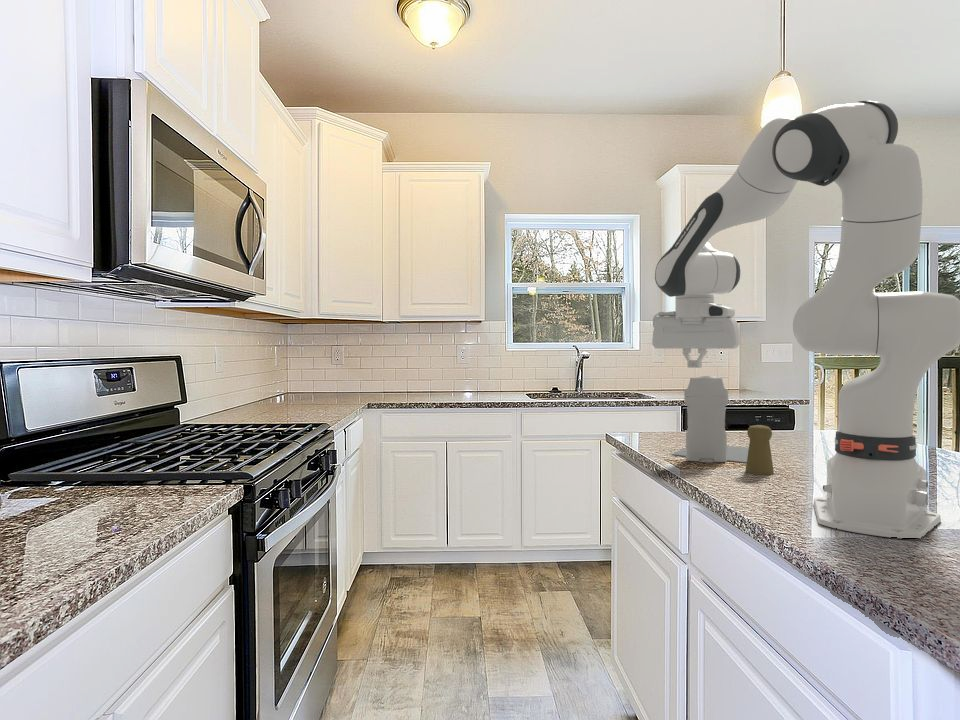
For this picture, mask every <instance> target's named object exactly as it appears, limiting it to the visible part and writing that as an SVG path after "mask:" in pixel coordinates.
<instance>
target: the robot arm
mask: <svg viewBox="0 0 960 720" xmlns="http://www.w3.org/2000/svg"><path fill="white" fill-rule="evenodd" d="M898 132H899V122H898V118H897V115H896V113H895V112H894V110H893V109H892V108H891V107H889V106H888V105H887V104H885V103H883V102H880V101H873V100H861V101H860V100H859V101H856V102H853V103H846V104H845V103H844V104H834V105H830V106H827V107H823V108H820V109H817V110H815V111H813V112H807V113H803V114H801V115H799V116H796V117H795V118H793V117H778V118H775V119H772V120H770V121H769V122H767V123H766V124H765V125H764V126H763V127H762V128H761V130H760V131H759V132H758V134H757V135H756V137H755V138H754V139H753V140H752V142H751V144H750V145H749V147H748V148H747V150H746V152H745V153H744V155H743V157H742V159H741V160H740V162H739V164H738V167H737V168H736V170H735V172H734V173H733V174H732V176H730V178H729V179H728V180H727V181H726V182H725V183H724V184H723V185H722V186H721V187H720V188H718V190H716V191H715V192H713V193H712V194H709V195H708V196H706V198H704V199H703V201H702V202H701V203H700V204H699V206H698V208H697V209H696V210H695V212H694V213H693V215H692V216H691V217H690V219H689V221H688V222H687V223H686V225H685V226H684V227H683V229H682V231H681V233H680V234H679V235H678V236H677V238H676V240H675V241H674V242H673V245H672V246H670V248H669V249H668V250H667V251H666V252H665V253H664V254H663V255H662V256H661V258H660V259H659V260H658V262H657V264H656V266H655V270H654V280H655V284H656V285H657V287H658V288H659V289H660V290H661V291H662V292H663V293H664V294H665V295H667V296H668V297H669V298H671V297H675V299H674V300H675V302H674V303H675V309H674V310H675V311H660V312H658V313H656V314H655V315H653V317H652V327H653V331H652V339H651V340H652V341H651V344H652V346H653V347H654V349H656V350H657V349H664V350H665V349H667V350H668V349H669V350H670V349H675V350H676V349H682V354H683V356H684V358H685V360H686V361H687V363H686V364H687V365H686V366H687V368H695V369H696V368H698V369H700V368H702V364H703V362H702V361H703V360H704V358H705V356H706V355H707V349H713V350H714V349H715V350H718V349H719V350H720V349H725V350H726V349H728V350H729V349H731V350H734V349H737V348H738V347H739V346H740V345H741V337H740V330H739V324H738V322H737V319H735V318H734V317H735V315H736V311H735V309H734V308H733V307H730V306H725V305H723V304H721V303H715V296H714V295H723V294H729V293H731V292H732V291H733V290H734V289H735V288H736V287H737V285H738V284H739V283H740V279H741V265H740V263H739V260H738V259H737V257H735V255H734V254H732V253H731V252H725V251H720V250H718V249H716V248H713V244H711V243H710V242H709V240H710V239H711V238H712V237H713V236H715V235H716V234H718V233H720V232H721V231H724V230H726V229H730V228H732V227H735V226H736V227H737V226H740V225H743V224H749V223H753V222H757V221H760V220H764V219H766V218H767V219H768V218H769V217H771V216H772V215H774V214H776V212H777V211H778V210H780V208H781V207H782V206H783V205H784V204H785V202H787V199H788V198H789V196H790V195H791V193H792V192H793V189H794V188H795V187H796V185H797V183H798V182H799V181H801V182H806V183H807V182H808V183H811V184H814V185H816V186H820V187H826V186H828V185H830V184H832V183H833V182H834V183H835V184H836V185H837V186H838V188H839V190H840V192H841V197H842V198H841V200H842V202H841V225H840V227H841V228H840V230H841V231H840V241H839V243H840V244H839V252H838V258H837V263H836V264H835V268H834V271H833V272H832V274H831V276H830V278H829V279H828V280H827V282H826V283H825V284H824V285H823V287H822V288H820V289H819V290H818V291H817V292H816V293H815V294H813V295H811V296H810V297H809V298H808V299H806V300H805V301H803V302H802V303H801V304H800V305H799V307H798V308H797V310H796V311H795V313H794V317H793V319H792V332H793V335H794V338H795V340H796V341H797V343H798V345H799V346H800V347H801V348H802V349H804V350H805V351H807V352H812V353H817V354H824V355H830V356H876V357H877V356H878V357H879V358H880V362H879V364H878V366H877V367H876V368H875V369H873V370H872V371H869V372H866V373H864V374H861V375H859V376H856V377H855V378H852V379H850V380H848V381H847V382H846V383H844V384H843V386H841V388H840V390H839V392H838V406H837V407H838V415H837V416H838V417H837V418H838V421H837V425H838V427H837V429H838V430H836V431H835V437H834V451H835V452H836V453H835V454H834V455H833V456H832V457H831V458H829V459H827V461H826V484H825V483H824V484H823V485H822V491H823V492H825V493H826V497H825V496H823V497H815V498H813V507H814V510H815V516H816V519H817V523H818V524H820V525H822V526H825V527H829V528H833V529H836V528H837V530H840V531H841V530H842V531H847V532H852V533H856V534H863V535H870V536H877V537H885V538H891V537H897V538H896V539H902V538H920V539H922V538H923V537H924V536H926V535H927V534H928V533H929V532H930V531H931V530H933V528H935V527H936V526H937V525H938V524H939V523H941V521H942V520H941V515H940V513H937V512H934V511H930V510H928V508H927V507H928V505H929V494H928V492H927V489H928V488H929V483H928V480H927V470H926V469H925V468H923V466H921V465H920V464H919V463H918V462H917V460H916V459H915V458H916V456H917V444H918V443H917V439H916V436H915V435H914V431H913V430H914V412H915V401H916V396H917V391H918V388H919V386H920V383H921V381H922V379H923V377H925V374H926V373H927V372H928V371H929V369H930V368H931V367H932V366H933V365H934V364H935V363H936V362H938V360H940V359H941V358H942V357H944V356H946V355H947V354H948V353H950V352H952V351H954V350H955V349H956V348H957V347H959V346H960V299H959V298H958V297H956V296H955V295H954V294H949V293H948V294H947V293H938V292H932V291H923V290H922V291H921V290H919V291H900V292H899V291H898V292H897V291H896V292H873V291H874V289H875V288H876V287H877V286H878V285H879V284H880V283H881V282H883V281H884V280H886V279H888V278H891V277H893V276H896V275H898V274H899V273H901V272H904V271H905V270H906V269H908V268H909V267H911V265H913V264H914V262H915V261H916V259H917V258H918V256H919V253H920V246H921V245H920V243H921V241H920V240H921V231H922V215H923V183H922V181H923V180H922V179H923V178H922V172H921V166H920V161H919V156H918V154H917V152H916V151H915V150H914V149H913V148H911V147H910V146H907V145H904V144H900V143H895V141H896V139H897V136H898ZM692 349H697V353H698V354H699V356H698V357H697V358H696V359H692V356H691V355H690V354H691V353H692ZM934 526H935V527H934ZM928 531H929V532H928ZM927 532H928V533H927ZM926 533H927V534H926ZM922 536H923V537H922ZM921 537H922V538H921Z"/></svg>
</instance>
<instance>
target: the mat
mask: <svg viewBox="0 0 960 720" xmlns="http://www.w3.org/2000/svg"><path fill="white" fill-rule="evenodd" d="M748 450H749V447H745V446H735V445H727V452H726V456H727V462H731V463H739V464H740V463H741V464H747V457H748ZM671 456H675V457H683V458H686V447H685V448H682V449H680V450H677V451H675V452H673V453H671Z"/></svg>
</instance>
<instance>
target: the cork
mask: <svg viewBox="0 0 960 720" xmlns="http://www.w3.org/2000/svg"><path fill="white" fill-rule="evenodd" d="M746 432H747V433H746V434H747V436H748V438H749V442H748V443H749V444H748V445H749V446H748V448H749V450H748V457H747V463H745V464H746V465H745V472H746V473H748V474H751V475H755V476H756V475H758V476H770V475H774V474H775V472H774V465H773V458H772V450H771V444H770V443H771V442H770V440H771V438H772V435H773V431H772V429H771V428H770V427H769V426H768V425H763V424H756V425H754V424H753V425H751V426H749V427H748V428H747V431H746Z"/></svg>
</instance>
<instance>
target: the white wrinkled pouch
mask: <svg viewBox="0 0 960 720" xmlns="http://www.w3.org/2000/svg"><path fill="white" fill-rule="evenodd" d="M683 391H684V394H683V396H684V397H683V399H684V404H685V405H686V406H687V407H686V412H687V413H686V415H687V421H686V422H687V423H686V426H687V429H686V432H685V448H686V457H685V461H686V462H693V463H694V462H695V463H697V462H698V463H706V464H707V463H715V464H716V463H720V464H721V463H724V464H725V463H727V462H728V461H727V456H726V452H727V446H728V445H727V439H728V438H727V437H728V436H727V432H726V428H725V427H726V411H727V408H726V407H727V405H728V404H729V390H728V389H726V387H725V385H724V380H723V377H716V376H710V375H701V376H697V377H690V378H689V382H688V385H687V388H686V389H684V390H683Z"/></svg>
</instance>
